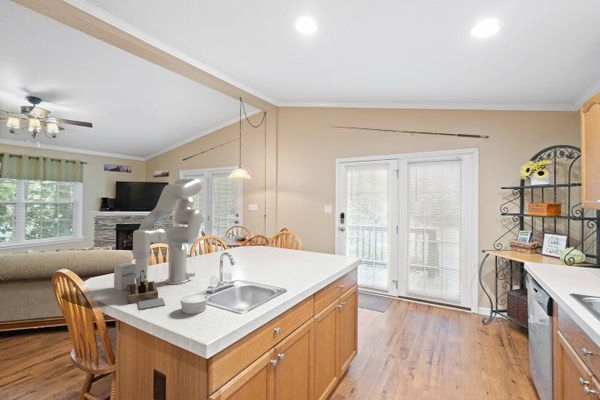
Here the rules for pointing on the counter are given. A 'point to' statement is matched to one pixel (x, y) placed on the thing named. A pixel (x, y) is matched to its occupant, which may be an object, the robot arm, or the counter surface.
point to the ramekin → (194, 303)
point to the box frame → (142, 296)
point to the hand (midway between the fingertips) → (141, 291)
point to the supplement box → (124, 275)
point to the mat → (151, 303)
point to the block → (145, 284)
